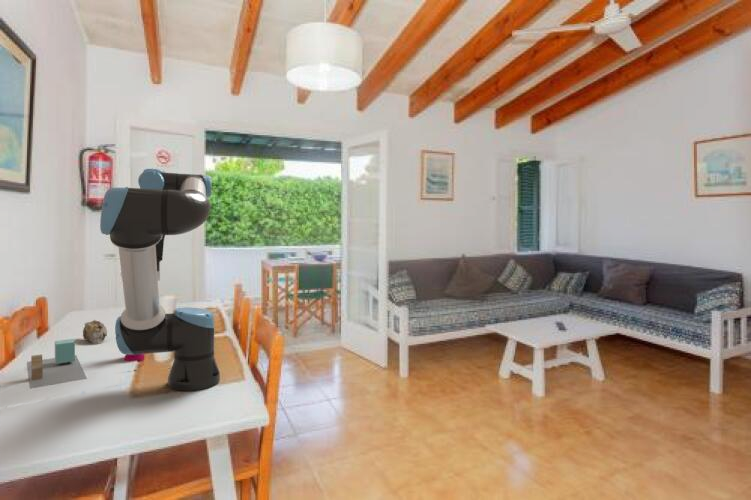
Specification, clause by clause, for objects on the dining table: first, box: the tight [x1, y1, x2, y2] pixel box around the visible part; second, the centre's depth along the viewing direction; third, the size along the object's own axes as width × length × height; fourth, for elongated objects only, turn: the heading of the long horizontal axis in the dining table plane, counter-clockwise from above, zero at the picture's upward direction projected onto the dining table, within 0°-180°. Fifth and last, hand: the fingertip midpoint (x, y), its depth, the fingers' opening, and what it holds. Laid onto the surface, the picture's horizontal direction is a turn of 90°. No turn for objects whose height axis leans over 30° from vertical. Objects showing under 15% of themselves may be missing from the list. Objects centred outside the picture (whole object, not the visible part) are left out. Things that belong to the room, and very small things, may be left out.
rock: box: [82, 319, 108, 345], centre depth 179 cm, size 12×7×10 cm, turn 49°
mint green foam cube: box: [54, 338, 76, 364], centre depth 148 cm, size 5×5×7 cm
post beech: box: [30, 354, 43, 380], centre depth 134 cm, size 3×3×7 cm
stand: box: [26, 354, 88, 389], centre depth 142 cm, size 30×14×1 cm, turn 40°
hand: (155, 280), depth 152 cm, fingers closed
